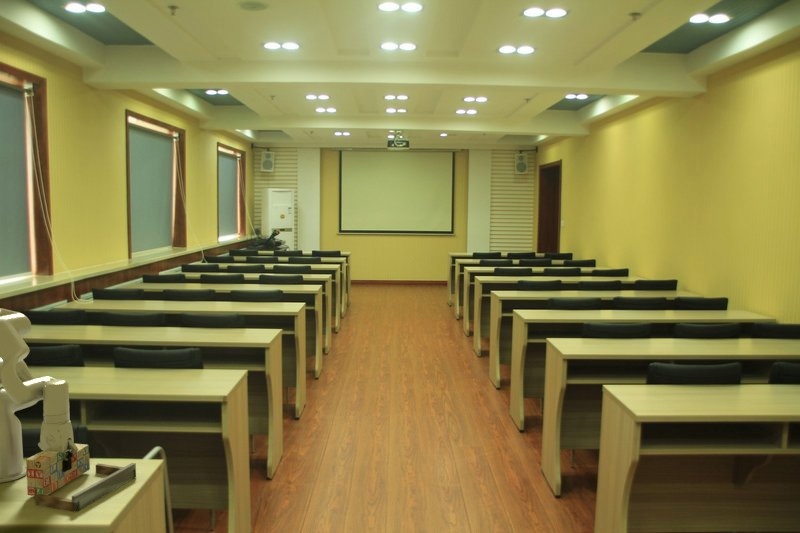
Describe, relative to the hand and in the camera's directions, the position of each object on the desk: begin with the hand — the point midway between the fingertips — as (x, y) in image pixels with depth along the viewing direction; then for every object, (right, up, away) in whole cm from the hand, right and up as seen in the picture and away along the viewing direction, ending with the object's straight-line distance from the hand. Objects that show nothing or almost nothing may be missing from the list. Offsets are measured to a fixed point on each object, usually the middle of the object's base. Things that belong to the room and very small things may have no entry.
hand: (58, 468), depth 206 cm
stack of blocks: (0, -5, +1) cm, 5 cm away
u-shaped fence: (+12, -6, -3) cm, 14 cm away
